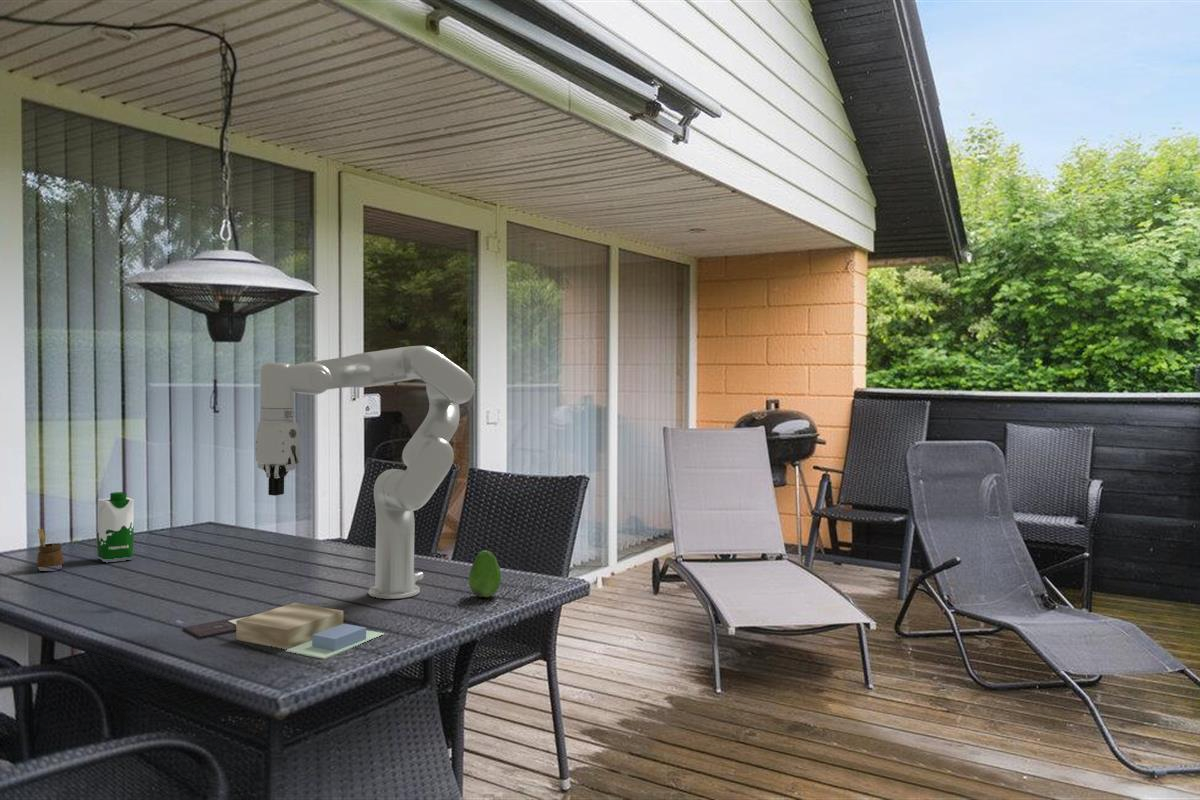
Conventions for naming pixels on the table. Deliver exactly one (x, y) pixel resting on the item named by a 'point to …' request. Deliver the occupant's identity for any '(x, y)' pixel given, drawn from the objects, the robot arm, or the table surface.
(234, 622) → the chocolate bar
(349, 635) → the blue-grey foam block
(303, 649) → the mat
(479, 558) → the avocado
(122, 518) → the milk carton
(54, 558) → the utensil holder
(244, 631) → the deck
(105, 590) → the table surface
